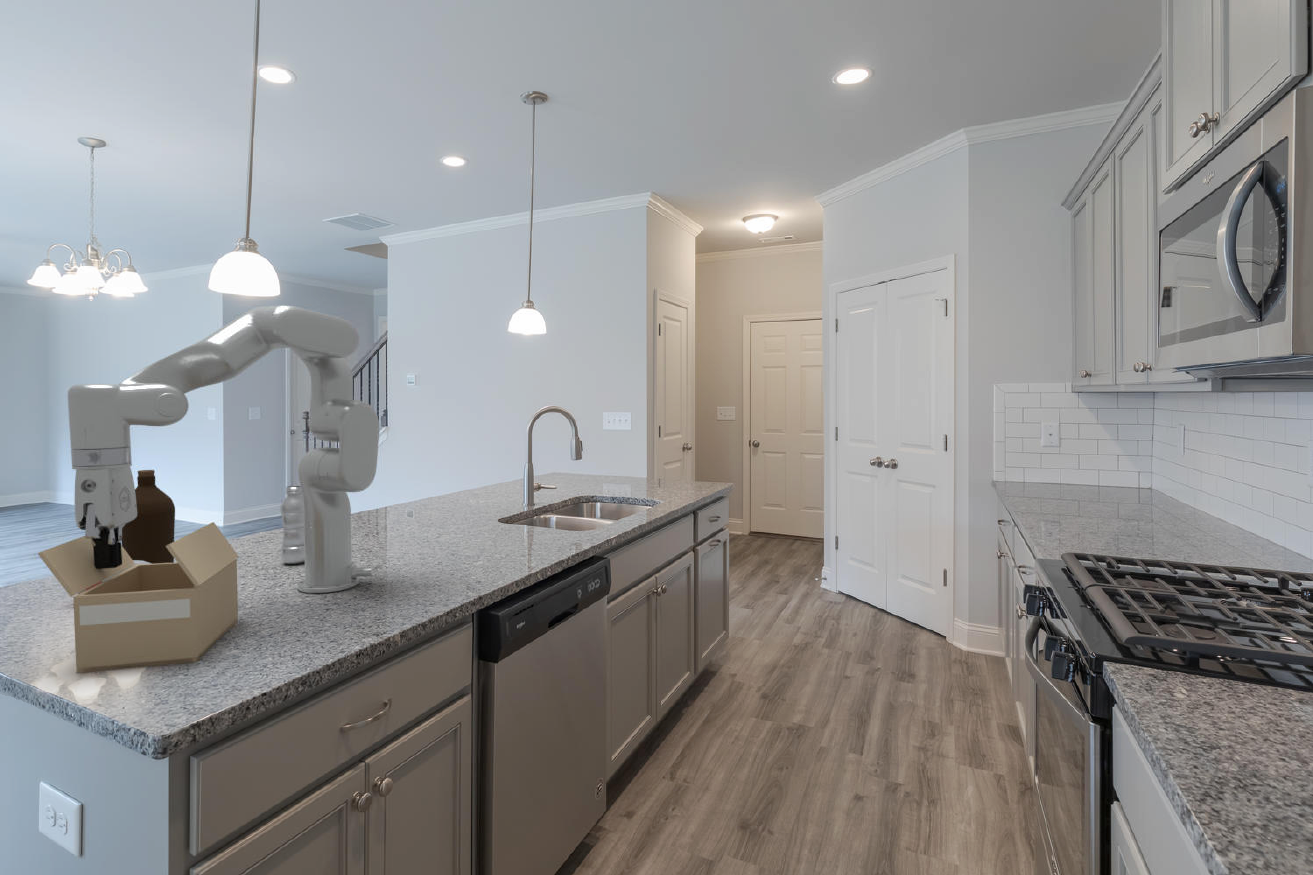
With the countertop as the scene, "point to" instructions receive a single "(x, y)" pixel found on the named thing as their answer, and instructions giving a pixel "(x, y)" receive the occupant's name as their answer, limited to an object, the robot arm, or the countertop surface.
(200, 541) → the flap
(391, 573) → the countertop surface
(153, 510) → the olive oil
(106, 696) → the countertop surface
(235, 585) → the carton
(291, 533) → the plastic bottle
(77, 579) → the flap
